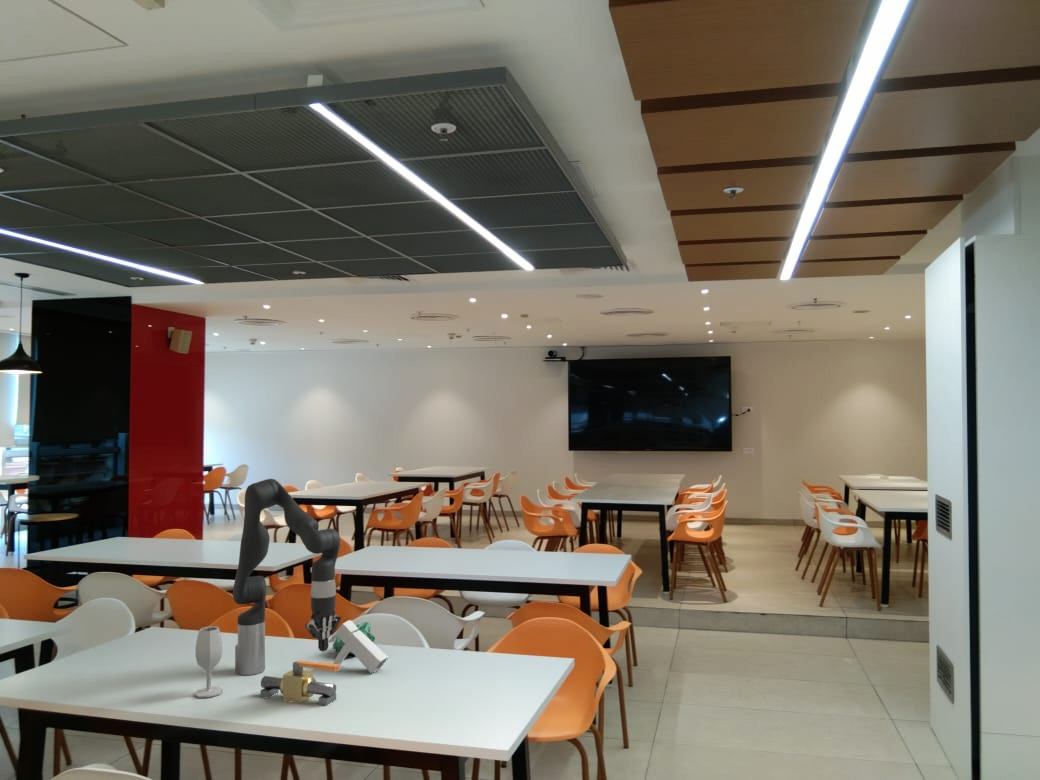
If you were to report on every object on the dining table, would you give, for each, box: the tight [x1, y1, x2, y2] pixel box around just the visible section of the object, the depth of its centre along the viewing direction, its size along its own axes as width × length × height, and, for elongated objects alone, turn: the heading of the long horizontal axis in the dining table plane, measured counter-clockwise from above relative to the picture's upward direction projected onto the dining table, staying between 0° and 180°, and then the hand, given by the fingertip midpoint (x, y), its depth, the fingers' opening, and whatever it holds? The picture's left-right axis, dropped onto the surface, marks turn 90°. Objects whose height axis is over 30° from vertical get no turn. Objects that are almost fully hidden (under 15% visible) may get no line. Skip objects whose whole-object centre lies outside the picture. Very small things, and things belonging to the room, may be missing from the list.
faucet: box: [328, 619, 389, 674], centre depth 267 cm, size 6×16×20 cm
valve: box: [260, 669, 337, 706], centre depth 239 cm, size 26×6×8 cm, turn 70°
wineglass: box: [194, 625, 224, 699], centre depth 245 cm, size 9×9×21 cm
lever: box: [292, 660, 341, 674], centre depth 236 cm, size 17×3×4 cm, turn 68°
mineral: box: [332, 621, 376, 655], centre depth 288 cm, size 18×16×10 cm
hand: (323, 650), depth 233 cm, fingers closed
